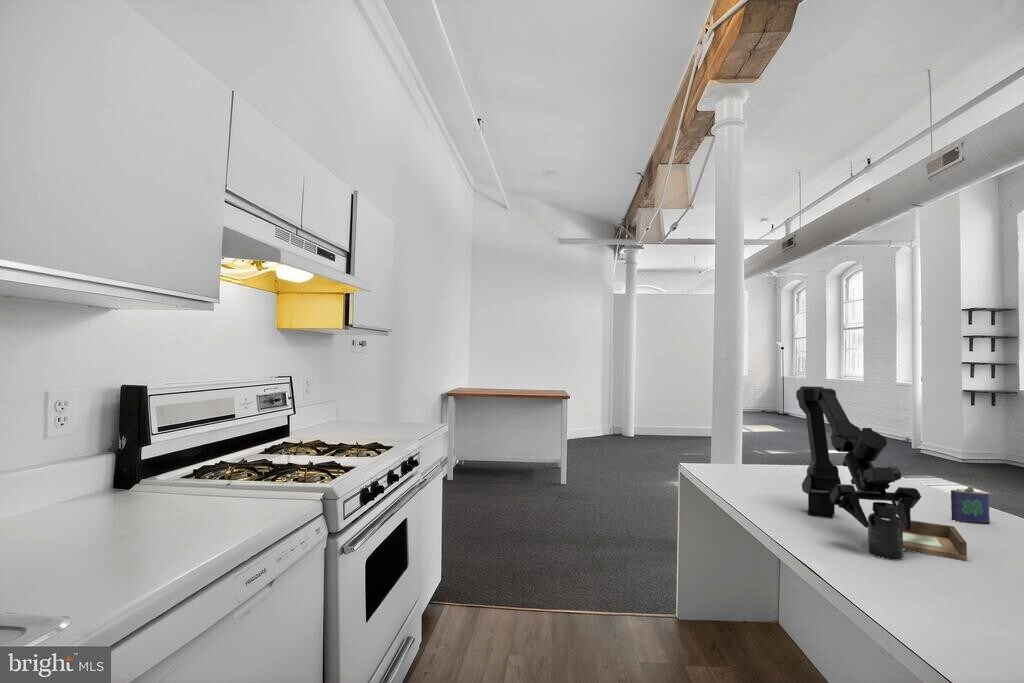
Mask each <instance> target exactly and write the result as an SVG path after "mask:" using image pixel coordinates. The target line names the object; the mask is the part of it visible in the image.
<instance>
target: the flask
mask: <svg viewBox="0 0 1024 683" xmlns="http://www.w3.org/2000/svg"><path fill="white" fill-rule="evenodd" d="M975 488H976V487H975V486H973V485H967V488H960V489H959V488H956V489H951V490H950V494H951V495H950V503H951V504H950V505H951V506H950V510H951V521H953V520H955V521H954V522H957V521H960V522H959V523H964V524H965V523H966V524H967V523H968V524H977V525H978V524H979V525H983V524H984V525H989V524H990V522H991V521H990V520H991V518H990V494H989V493H988V492H984V491H975Z"/></svg>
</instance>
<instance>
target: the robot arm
mask: <svg viewBox="0 0 1024 683" xmlns="http://www.w3.org/2000/svg"><path fill="white" fill-rule="evenodd" d="M795 393H796V394H795V396H796V400H797V401H798V406H799V408H800V410H802V412H803V413H804V414H805V418H806V426H807V433H808V434H807V435H808V440H809V452H810V457H811V458H810V459H811V461H810V463H809V465H808V466H807V469H806V476H805V478H804V479H803V481H802V483H801V488H802V492H803V493H805V494H806V495H807V500H808V501H807V505H808V506H807V508H808V509H807V515H811V516H817V517H824V518H831V519H833V518H834V516H835V514H836V513H835V512H836V511H835V506H838V508H840V509H843V510H845V511H846V512H847V513H848V514H850V515H851V516H852V517H853V518H854V519H855V520H856V521H858V522H859V523H860V524H861V525H862V526H863V527H864V528H867V529H868V526H869V524H868V518H867V516H866V514H865V512H864V510H863V507H862V506H861V504H860V500H868V501H880V502H881V501H883V502H891V504H893V505H896V506H897V512H898V514H897V515H896V516H897V517H899V518H900V519H901V520H902V522H903V525H904V526H905V528H906V529H907V530H910V529H911V510H912V509H913V508H914V507H915V505H917V503H918V502H919V501H920V499H921V498H922V495H921V494H920V492H919V489H917V488H915V487H903V486H902V487H901V486H899V487H897V488H896V490H895V491H894V492H890V491H889V492H888V491H886V490H888V489H889V488H890V484H891V483H895V482H896V481H899V480H901V479H902V473H901V472H902V471H900V469H899V468H898V466H896V465H895V466H894V465H889V466H888V467H876V466H875V465H874V463H873V462H875V461H878V459H879V457H880V455H881V454H882V453H883V451H884V450H885V448H886V447H887V445H888V442H887V438H886V437H884V436H883V435H882V434H880V433H879V432H876V431H874V430H873V429H872V427H863V428H862V429H861V428H860V427H858V426H857V425H854V424H853V423H852V422H851V421H850V420H849V418H848V416H847V414H846V412H845V411H844V409H843V407H842V405H841V402H840V401H839V399H838V398H837V391H836V390H835V389H833V388H829V387H828V388H827V387H826V388H825V387H823V386H810V385H809V386H806V385H803V386H800V387H799V389H797V390H796V392H795ZM825 418H826V421H827V422H828V424H829V426H830V429H831V431H832V432H831V435H830V440H831V442H830V443H831V445H832V447H833V448H834V449H835V451H836V452H839V453H846V454H845V455H844V457H843V461H842V466H843V467H847V469H848V471H849V474H850V476H851V479H850V483H851V484H843V483H842V482H841V478H840V475H839V468H838V466H836V465H834V464H833V463H832V461H831V460H830V453H829V446H828V438H827V431H826V429H827V428H826V423H825Z"/></svg>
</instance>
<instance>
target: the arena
mask: <svg viewBox="0 0 1024 683" xmlns="http://www.w3.org/2000/svg"><path fill="white" fill-rule="evenodd" d="M967 545H968V544H967V542H966V540H965V539H964V538H963V536H962V535H961V533H960V532H959V531H958V530H957V528H956V527H955V526H953V525H947V524H939V523H932V522H927V521H926V522H925V521H920V520H919V521H917V520H911V529H910V530H907V529H906V528H905V526H904V525H903V549H905V550H910V551H915V552H914V553H916V552H920V553H919V554H922V553H925V554H924V555H928V554H931V555H930V556H934V555H937V556H936V557H940V556H943V557H942V558H946V557H948V558H947V559H952V558H954V560H958V559H961V561H964V560H967V561H968V549H967V548H968V547H967ZM910 551H909V552H910Z"/></svg>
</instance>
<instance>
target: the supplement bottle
mask: <svg viewBox="0 0 1024 683" xmlns="http://www.w3.org/2000/svg"><path fill="white" fill-rule="evenodd" d="M872 511H873V512H872V513H870V514H868V515H867V521H868V524H869V526H868V528H867V550H868V552H869V554H871V555H872V554H874V555H876V556H875V557H877V556H880V557H884V558H883V559H885V558H890V559H889V560H891V559H899V560H902V559H903V558H904V550H903V522H902V520H901V519H900V518H899V517H898V515H897V514H898V512H897V506H896V505H893V504H892V503H889V502H885V501H883V502H881V501H874V502H872ZM874 555H873V556H874ZM880 557H879V558H880ZM901 558H902V559H901Z"/></svg>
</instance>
